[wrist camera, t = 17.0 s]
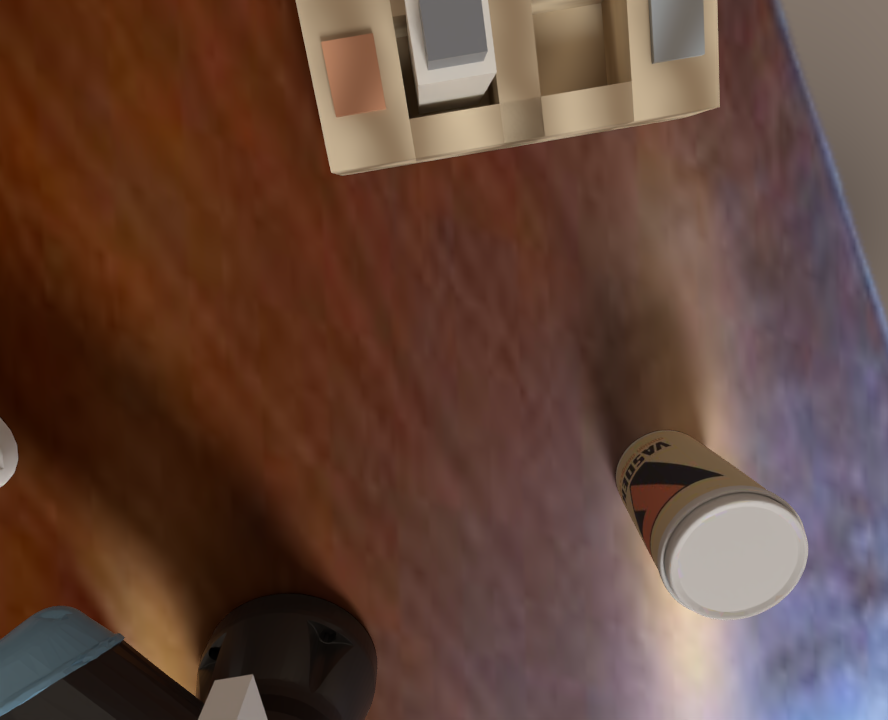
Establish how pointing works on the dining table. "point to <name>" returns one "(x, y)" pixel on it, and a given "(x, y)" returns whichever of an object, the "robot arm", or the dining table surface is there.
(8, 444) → the bottle
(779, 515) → the white lidded canister
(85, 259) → the dining table surface
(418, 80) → the plug
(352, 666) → the robot arm
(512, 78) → the socket block
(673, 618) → the dining table surface
